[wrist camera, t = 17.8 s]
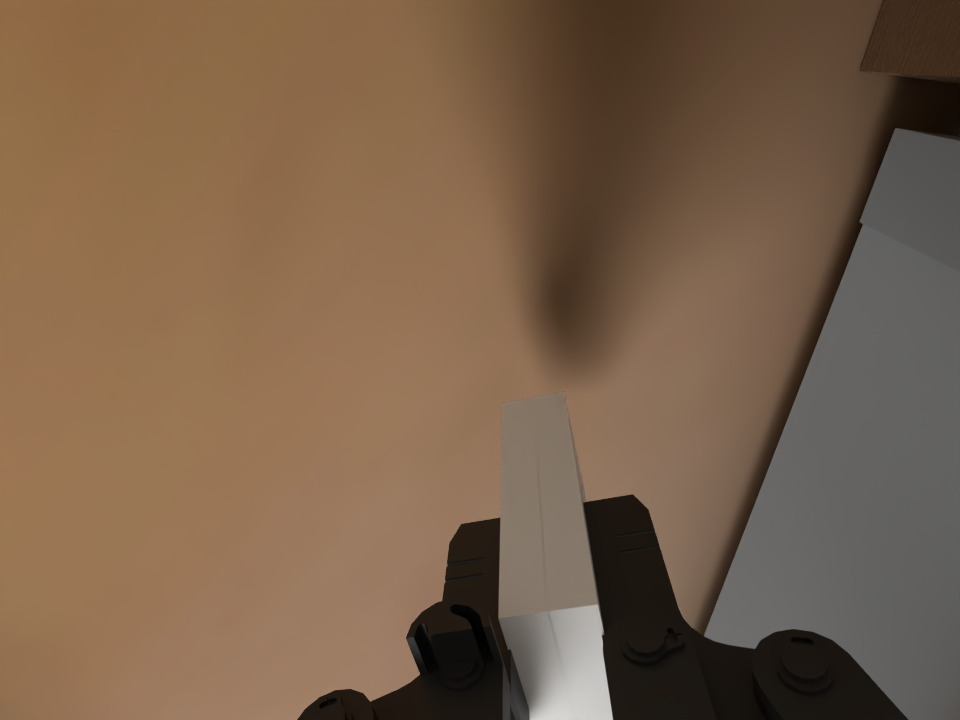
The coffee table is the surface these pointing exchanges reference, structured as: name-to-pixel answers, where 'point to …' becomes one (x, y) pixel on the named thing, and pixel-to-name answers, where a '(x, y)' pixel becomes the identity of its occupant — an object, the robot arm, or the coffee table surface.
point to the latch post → (916, 40)
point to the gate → (873, 455)
